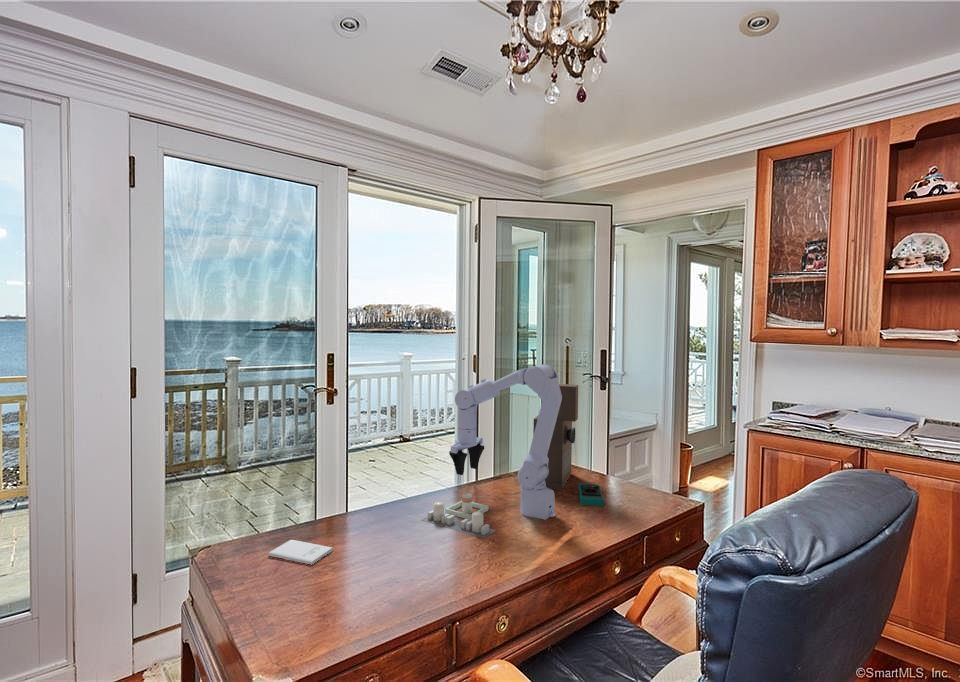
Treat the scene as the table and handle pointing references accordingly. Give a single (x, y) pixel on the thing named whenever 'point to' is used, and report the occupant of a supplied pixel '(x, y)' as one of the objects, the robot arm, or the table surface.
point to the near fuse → (477, 522)
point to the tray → (463, 515)
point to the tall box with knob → (562, 438)
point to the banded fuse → (467, 503)
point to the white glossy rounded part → (438, 511)
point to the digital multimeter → (590, 495)
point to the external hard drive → (301, 551)
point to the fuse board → (459, 525)
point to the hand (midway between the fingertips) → (467, 471)
